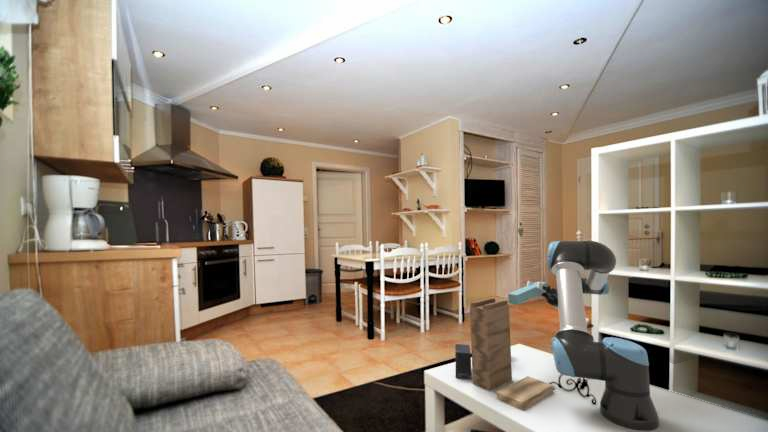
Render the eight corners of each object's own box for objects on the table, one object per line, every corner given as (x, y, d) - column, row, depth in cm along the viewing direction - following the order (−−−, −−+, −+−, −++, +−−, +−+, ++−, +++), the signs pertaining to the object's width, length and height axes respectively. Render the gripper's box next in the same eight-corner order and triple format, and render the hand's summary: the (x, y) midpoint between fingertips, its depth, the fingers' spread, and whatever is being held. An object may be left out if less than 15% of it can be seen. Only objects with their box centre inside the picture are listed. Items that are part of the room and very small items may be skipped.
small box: (472, 379, 138) (471, 352, 139) (455, 378, 140) (454, 352, 140) (470, 368, 149) (469, 344, 149) (455, 367, 150) (454, 343, 151)
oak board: (553, 392, 126) (552, 385, 126) (522, 410, 114) (522, 402, 114) (527, 382, 134) (527, 376, 134) (496, 398, 122) (496, 391, 122)
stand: (511, 380, 136) (508, 300, 137) (490, 391, 128) (486, 306, 129) (494, 374, 142) (491, 297, 144) (472, 383, 134) (469, 302, 135)
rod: (547, 291, 153) (546, 282, 153) (517, 304, 138) (517, 295, 138) (538, 290, 156) (537, 281, 156) (508, 303, 142) (508, 293, 141)
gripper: (575, 310, 155) (550, 295, 142) (538, 304, 168) (513, 289, 155) (577, 294, 157) (554, 278, 144) (541, 289, 170) (516, 274, 157)
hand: (533, 284), depth 150 cm, fingers closed on rod, 4 cm apart
